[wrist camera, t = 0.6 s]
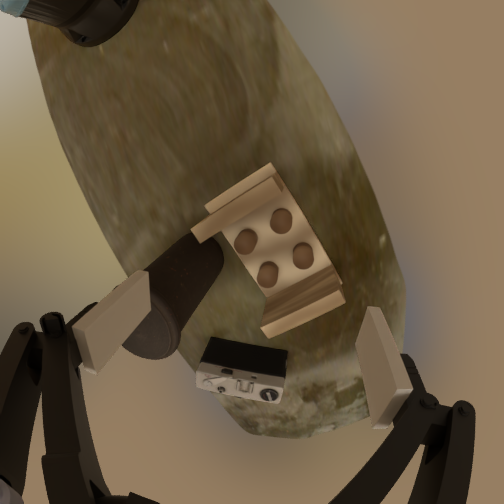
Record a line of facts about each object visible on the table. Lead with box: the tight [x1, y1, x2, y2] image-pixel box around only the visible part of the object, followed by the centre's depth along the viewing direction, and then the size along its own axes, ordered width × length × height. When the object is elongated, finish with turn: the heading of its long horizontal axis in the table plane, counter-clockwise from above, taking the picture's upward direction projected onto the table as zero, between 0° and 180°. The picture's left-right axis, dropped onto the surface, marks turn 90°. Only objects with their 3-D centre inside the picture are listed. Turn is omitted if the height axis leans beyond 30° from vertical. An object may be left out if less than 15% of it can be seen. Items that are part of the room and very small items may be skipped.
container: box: [112, 233, 224, 360], centre depth 34 cm, size 9×9×20 cm
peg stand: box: [191, 162, 346, 339], centre depth 37 cm, size 20×11×9 cm, turn 33°
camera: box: [196, 337, 288, 403], centre depth 45 cm, size 14×9×10 cm, turn 75°
